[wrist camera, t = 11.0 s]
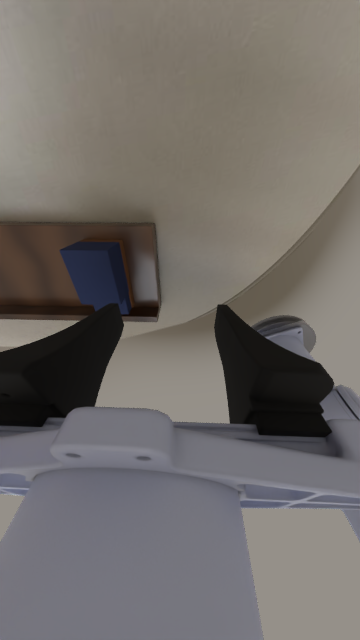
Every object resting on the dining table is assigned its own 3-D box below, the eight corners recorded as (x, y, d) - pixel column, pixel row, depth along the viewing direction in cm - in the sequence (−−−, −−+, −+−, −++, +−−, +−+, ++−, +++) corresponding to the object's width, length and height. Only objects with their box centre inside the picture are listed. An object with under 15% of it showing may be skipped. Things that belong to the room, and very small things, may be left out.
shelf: (155, 223, 17) (148, 229, 14) (161, 304, 23) (157, 322, 20) (-174, 221, 18) (-250, 226, 15) (-86, 300, 24) (-127, 316, 21)
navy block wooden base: (82, 239, 17) (58, 249, 14) (122, 239, 17) (107, 250, 13) (103, 303, 21) (88, 322, 18) (134, 304, 21) (125, 323, 18)
